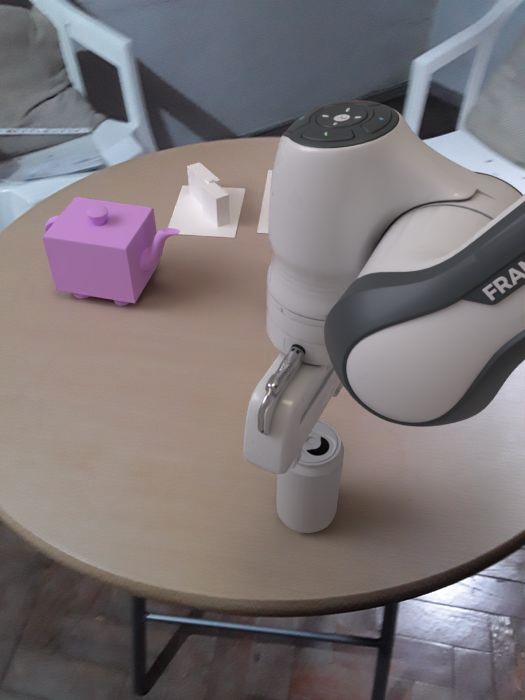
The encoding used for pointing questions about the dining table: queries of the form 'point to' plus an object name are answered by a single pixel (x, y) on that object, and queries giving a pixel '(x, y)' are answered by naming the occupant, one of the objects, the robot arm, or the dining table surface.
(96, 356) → the dining table surface
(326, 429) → the beverage can
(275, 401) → the robot arm
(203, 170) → the napkin holder
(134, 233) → the teapot
